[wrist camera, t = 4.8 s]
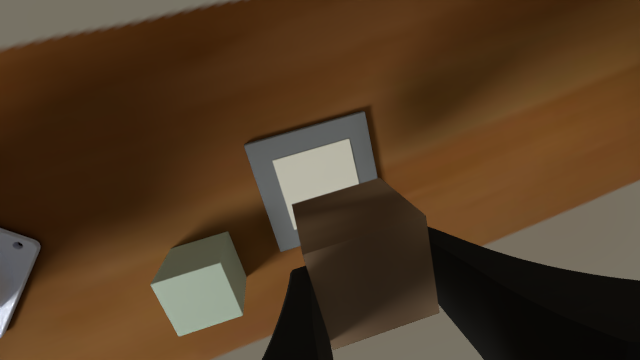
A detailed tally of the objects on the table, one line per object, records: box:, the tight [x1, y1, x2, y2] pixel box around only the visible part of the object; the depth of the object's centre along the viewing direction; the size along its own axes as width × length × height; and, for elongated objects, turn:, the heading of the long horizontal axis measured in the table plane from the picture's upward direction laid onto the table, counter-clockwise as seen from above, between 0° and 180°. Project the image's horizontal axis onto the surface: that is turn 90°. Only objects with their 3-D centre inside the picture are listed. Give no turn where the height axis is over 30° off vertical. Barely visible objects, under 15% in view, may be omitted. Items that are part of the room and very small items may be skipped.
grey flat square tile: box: [244, 111, 377, 252], centre depth 21 cm, size 8×8×1 cm
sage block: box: [151, 231, 246, 336], centre depth 20 cm, size 4×4×4 cm
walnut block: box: [292, 178, 439, 350], centre depth 12 cm, size 4×4×4 cm
